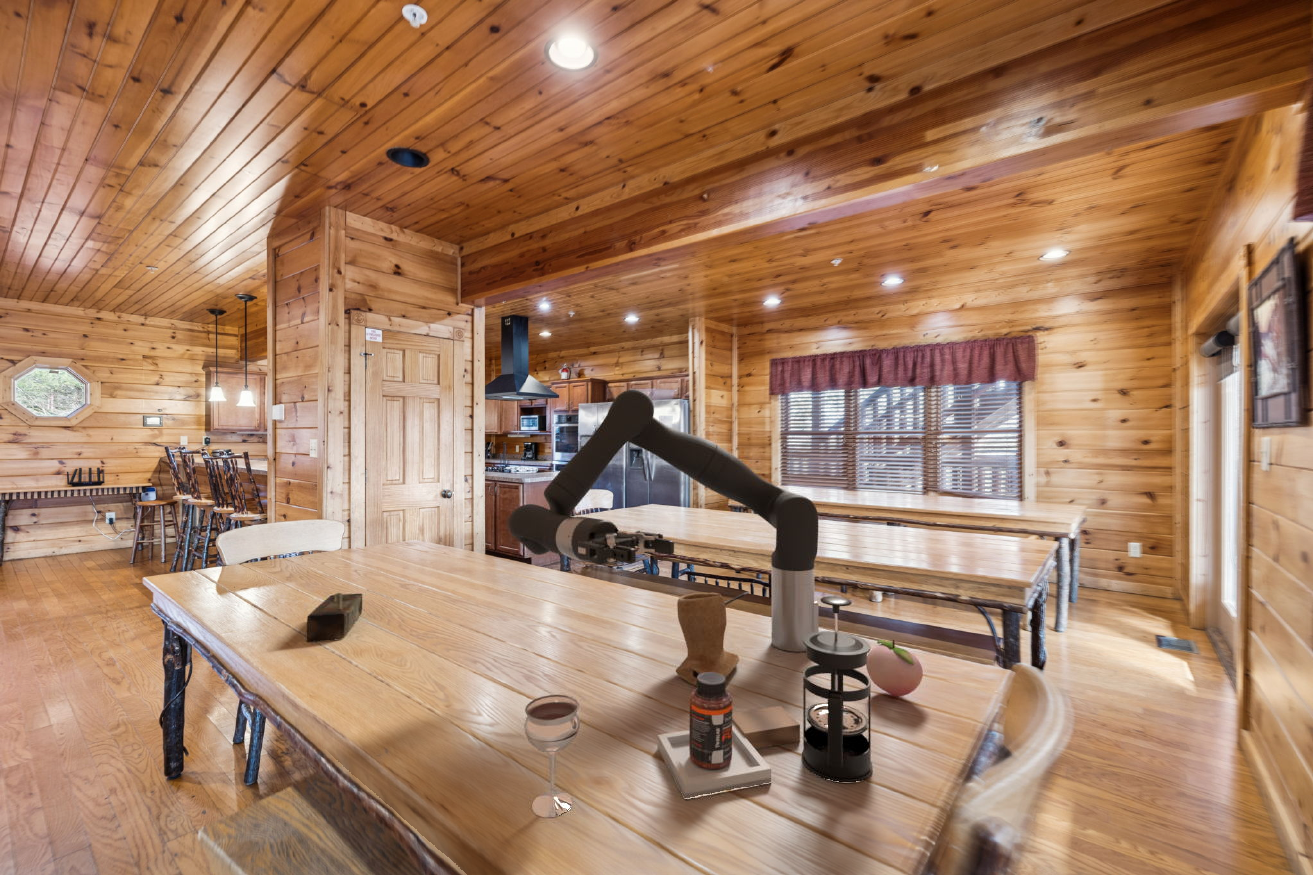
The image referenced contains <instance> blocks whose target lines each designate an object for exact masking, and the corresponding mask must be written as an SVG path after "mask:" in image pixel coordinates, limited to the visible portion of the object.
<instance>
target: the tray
mask: <svg viewBox="0 0 1313 875" xmlns="http://www.w3.org/2000/svg"><path fill="white" fill-rule="evenodd" d="M689 732H690V731H689V729H688V730H681V731H675V732H668V733H663V734H662V733H661V734H658V735H657V749H658V752H659V753H660V755H661V758H662V759H663V761H664V763H665V765H666V767H667V769H668V770H670V771H669V773H670V772H671V773H670V774H672V775H671V777H672V776H673V777H672V779H673V778H674V779H675V781H676V782H675V781H674V782H675V784H676V783H677V784H676V786H677V785H678V786H677V788H678V787H679V788H678V790H679V789H680V790H679V792H680V791H681V792H682V794H683V796H684V798H690V797H695V796H698V795H703V794H710V793H711V794H712V793H715V792H720V791H724V790H731V789H734V788H741V787H750V786H754V785H761V784H763V783H769V782H771V783H772V767H771V766H770V765H769V764H768V763H767V761H766V760H765V759H764V757H763V756H761V754H760V753H759V752H758V751H757V750H756V749H755V748H754V747H753V746H752V745H751V744H750V742H749V741H748V740H747V739H746V738H745V736H744V735H743V734H742V733H741V732H740V730H739V729H738V728H737V727H736V725H735V724H734V723H732V759H731V762H730V763H729V764H728V765H727V766H725V767H723V768H721V769H715V770H713V769H705V768H702V767H699V766H697V765H696V764H695V763H693V762H692V760H691V758H690V751H689ZM674 779H673V780H674ZM681 792H680V793H681ZM682 794H681V795H682ZM683 796H682V797H683ZM684 798H683V799H684Z"/></svg>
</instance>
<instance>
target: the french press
mask: <svg viewBox="0 0 1313 875" xmlns="http://www.w3.org/2000/svg"><path fill="white" fill-rule="evenodd" d="M820 602H821V603H822V604H824V605H827V606H831V607H832V613H834V631H832V630H831V631H829V630H828V631H827V630H826V631H818V632H814V633H810V634H807V635H806V636H804V638H803V643H804V645H805V646H806V651H805V652H806V655H805V656H806V657H807V659H808V660H810V661H811V662H812V663H814V665H811V666H808V667H806V668H805V669H804V671H802V672H803V674H802V675H803V676H802V677H803V680H802V684H803V685H802V688H803V689H802V692H803V693H802V694H803V695H802V696H803V697H802V700H803V701H802V703H803V705H802V707H803V708H802V709H803V710H802V711H803V714H802V717H803V719H802V722H803V723H802V725H803V728H802V729H803V732H802V736H803V738H802V739H803V744H802V745H803V750H802V752H801V760H802V763H803V765H804V766H805V768H806V769H807V770H808V771H809V770H810V771H809V772H811V773H812V772H813V773H814V775H815V774H816V775H815V776H817V775H818V776H817V777H819V776H820V777H819V778H821V779H823V778H825V779H824V780H826V779H830V780H833V781H839V782H856V781H862V780H864V781H866V780H868V777H869V776H870V777H871V775H872V774H871V773H873V768H874V767H873V762H872V759H871V758H872V757H871V754H872V753H871V752H872V748H871V746H872V742H871V741H872V740H871V738H872V737H871V736H872V733H871V732H872V731H871V729H872V728H871V727H872V725H871V723H872V717H871V715H872V714H871V713H872V712H871V704H872V703H871V701H872V700H871V689H872V688H871V687H872V685H871V678H870V677H868V676H869V675H867V674H865V673H863V672H862V671H860V670H858V669H860V668H863V667H864V666H866V663H867V656H868V654H869V652H870V651H871V645H870V643H869V642H868V641H867V640H866V639H864V638H862V637H860V636H857V635H854V634H850V633H845V632H839V631H838V614H840V610H841V609H840V607H847V606H850V605H852V604H853V602H852V600H850V599H849V598H846V597H843V596H837V595H829V596H824V597H823V596H822V597H821V598H820ZM822 674H824V675H825V674H827V675H828V674H830V689H829V688H826V687H822V686H819V685H817V684H815V683H813V682H811V681H810V680H809V679H808V678H810V677H812V676H815V675H822ZM844 676H846V677H849V678H851V679H854V680H857V681H859V682H860V683H862V684H863V685H864V686H865V687H863V688H860V689H856V690H849V691H847V690H844ZM806 690H807V691H808V693H809V692H810V693H811V694H813V695H815V696H817V697H820V698H822V699H826V700H827V702H821V703H820V702H819V703H814V704H812V705H809V706H808V707H807V708H806V706H807V705H806V700H807V698H806V697H807V696H806V695H807V694H806V693H807V692H806ZM865 699H868V700H867V701H868V703H867V704H868V706H867V709H868V711H867V712H868V713H867V714H868V715H867V716H868V717H867V716H866V715H865V714H864V713H863V712H861V711H859V710H858V709H856V708H854V707H851V706H849V705H845V704H844V702H845V703H848V702H849V703H850V702H858V701H859V702H860V701H862V700H865ZM806 721H807V722H806ZM807 723H808V724H809V726H808V727H806V725H807ZM866 731H867V732H868V733H867V734H868V735H867V736H868V737H867V736H866V735H865V734H864V733H866ZM822 748H827V752H823V751H821V750H819V749H822ZM843 750H844V751H847V752H850V753H851V754H853V755H854V756H853V755H852V756H843V754H844V753H843ZM813 773H812V774H813ZM870 777H869V778H870ZM865 779H866V780H865ZM862 782H863V781H862Z"/></svg>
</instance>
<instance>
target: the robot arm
mask: <svg viewBox="0 0 1313 875" xmlns="http://www.w3.org/2000/svg"><path fill="white" fill-rule="evenodd" d="M652 400H653V399H651V397H650V396H649V395H648V393H646V392H644V391H642V390H639V389H627V390H625V391H623V392H621V393H619V394H618V395H617V396H616V397H615V398H614V399H613V401H612V402H611V405H610V407H609V409H608V411H607V413H606V416H605V417H604V419H603V421H602V422H601V423H600V425H599V426H598V427H597V429H596V430H595V432H594V433H593V434H592V435H591V437H590V438H589V439H588V440H587V441H586V443H585V444H584V445H583V446H582V447H581V448H580V449H579V450H578V451H577V452H576V453H575V455H574V456H573V457H572V458H570V460H569V461H568V462H567V463H566V464H565V465H564V466H563V468H561V470H560V471H559V472H558V473H557V474H556V476H555V477H554V478H553V479H552V480H551V481H550V483H549V484H548V485H547V486H546V487H545V489H544V491H543V496H544V499H545V500H546V502H547V504H548V506H549V508H546V507H544V506H541V505H538V504H535V503H534V504H533V503H526V504H522V505H520V506H517V507H516V508H515V509H514V510H512V512H511V513H510V515H509V517H508V519H507V520H508V521H507V528H508V531H509V533H510V534H511V535H512V536H513V537H514V538H515V539H516V540H517V541H518V542H519V543H521V545H523V546H524V547H525V548H526V549H527V550H529V551H530V553H533V554H534V555H537V556H540V555H541V556H542V555H544V554H547V553H549V552H551V553H554V554H559V555H562V556H566V557H568V558H571V559H573V560H577V561H581V562H586V563H589V564H593V565H598V566H600V565H606V564H609V563H613V562H622V563H626V564H630V565H631V564H635V562H636V560H637V559H636V556H637V555H640V556H641V555H644V554H645V553H659V554H663V555H669V556H670V555H673V554H674V553H675V542H674V541H673V540H672V539H666V538H664V534H662V533H654V532H647V531H641V530H637V531H635V532H628V531H627V530H625V531H624V530H623V531H621V530H620V531H619V529H618V527H617V526H616V524H614V523H613V522H612V521H610V520H608V519H601V518H594V517H587V516H572V514H573V512H574V510H575V509H576V507H577V506H578V505H579V504H580V502H581V501H582V500H583V498H585V496H586V495H587V493H588V492H589V491H590V490H591V489H592V487H593V486H594V485H595V483H596V482H597V481H598V479H599V478H600V476H601V475H602V474H603V472H604V471H605V469H606V468H607V467H608V465H609V464H610V463H611V461H612V460H613V459H614V457H615V456H616V455H617V453H619V451H620V450H621V449H622V448H623V447H624V446H625V445H626V444H627V443H630V444H633V445H634V446H637V447H639V448H641V449H643V450H645V451H647V452H648V453H651V454H653V455H655V456H656V457H659V459H661V460H663V461H664V462H665V463H668V464H669V465H670V466H672V467H674V468H675V469H677V470H679V471H680V472H682V473H684V475H686V476H687V477H689V478H691V479H692V480H693V481H696V482H697V483H699V484H700V485H703V487H705V488H707V489H709V490H711V491H712V492H715V493H717V494H718V495H720V496H723V497H725V498H726V499H730V500H732V501H735V502H737V503H739V504H741V505H743V506H745V507H747V508H748V509H750V510H751V511H752V512H754V513H755V514H756V515H758V516H759V517H761V518H762V519H763V520H764V521H766V522H767V523H768V524H769V525H771V526H772V528H774V529H776V532H775V534H776V536H775V548H774V551H773V552H772V553H771V555H770V556H771V562H770V563H771V575H770V576H771V644H772V646H774V647H776V648H777V649H780V650H783V651H788V652H794V653H795V652H796V653H797V652H798V653H799V652H802V653H803V652H806V646H805V645H804V643H803V638H804V636H806V635H807V634H810V633H814V632H819V602H817V601H815V560H816V558H817V555H818V548H819V547H818V546H819V545H818V544H819V513H818V509H817V507H816V505H815V503H814V502H813V501H812V500H811V499H809V498H808V497H807V496H803V495H800V494H796V493H794V492H790V491H787V490H785V489H784V488H781V487H779V486H778V485H777V486H776V485H774V484H773V483H771V482H769V481H767V480H765V479H763V478H762V477H760V476H759V475H758V474H756V473H755V472H754V471H753V470H752V469H751V468H750V467H749V466H748V465H747V464H745V463H744V462H743V461H742V460H740V459H739V458H738V457H737V456H735V455H734V454H733V453H731V452H730V451H728V450H726V449H724V448H723V447H721V446H720V445H718V444H716V443H715V442H713V441H711V440H709V439H706V438H704V437H700V436H698V435H695V434H691V433H687V432H683V431H679V430H677V429H675V428H672V427H669V426H668V425H666V424H665V423H664V422H662V421H660V420H659V419H657V418H656V417H654V415H655V406H654V402H653V401H652ZM636 547H637V548H638V550H637V549H636Z"/></svg>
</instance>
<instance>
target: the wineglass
mask: <svg viewBox="0 0 1313 875" xmlns="http://www.w3.org/2000/svg"><path fill="white" fill-rule="evenodd" d="M579 708H580V703H579V701H578V699H576V698H574V697H573V696H570V695H565V694H549V695H544V696H540V697H537V698H535V699H533V700H532V701H530V702H528V703H527V704H526V706H525V709H524V711H525V714H526V718H525V723H524V733H525V736H526V738H527V741H528V743H530V744H531V745H532V746H533V747H534V748H535V749H537V750H538V752H539V751H540V752H542V753H546V754H547V755H548V757H549V782H550V784H549V785H550V791H548V792H544V793H542V794H540V795H538V796H537V797H536V798H534V800H533V802H532V804H531V805H532V806H531V809H532V812H533V813H534V814H535V815H537V816H538V817H542V818H556V817H559V815H560V816H561V813H564V812H566V813H567V812H568V811H569V810H570V809H571V808H570V806H571V802H572V801H573V799H572V800H571V798H572V796H571V795H570V794H569V793H566V792H564V791H561V790H555V781H556V780H555V778H556V754H558V753H559V752H560V751H562V750H564V749H566V748H567V747H568V746H569V745H570V744H571V743H572V742H573V741H574V739H575V738H576V737H577V735H578V732H579V730H580V722H581V720H580V715H579V713H578V710H579ZM569 795H570V796H569ZM572 803H573V802H572ZM571 807H572V806H571ZM569 808H570V809H569ZM568 809H569V810H568ZM567 810H568V811H567ZM564 814H565V813H564Z"/></svg>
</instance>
